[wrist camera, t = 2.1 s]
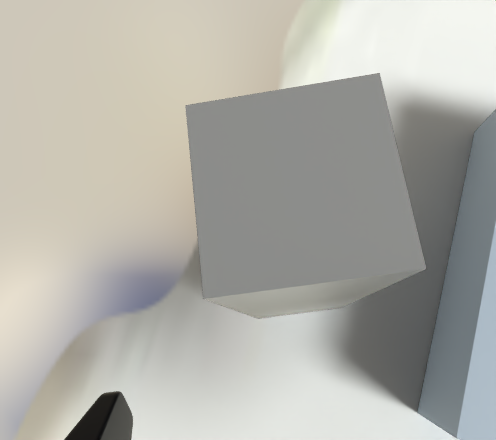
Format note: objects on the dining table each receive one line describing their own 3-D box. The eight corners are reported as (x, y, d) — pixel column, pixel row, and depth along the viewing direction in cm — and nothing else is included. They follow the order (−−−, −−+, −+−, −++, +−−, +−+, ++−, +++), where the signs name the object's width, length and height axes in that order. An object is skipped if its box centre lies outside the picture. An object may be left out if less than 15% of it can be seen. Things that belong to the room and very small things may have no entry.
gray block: (341, 307, 20) (426, 268, 7) (258, 318, 20) (203, 299, 8) (326, 227, 21) (379, 73, 8) (248, 238, 21) (185, 105, 9)
